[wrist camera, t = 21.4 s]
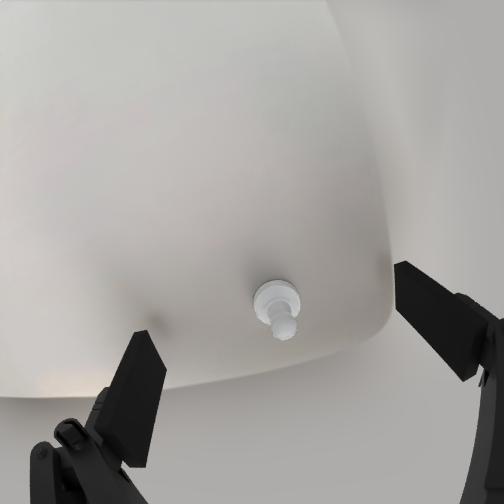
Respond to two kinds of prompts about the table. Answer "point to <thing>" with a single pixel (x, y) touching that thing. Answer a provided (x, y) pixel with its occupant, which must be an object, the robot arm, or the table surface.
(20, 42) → the table surface
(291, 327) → the chess pawn
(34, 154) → the table surface
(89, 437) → the robot arm
